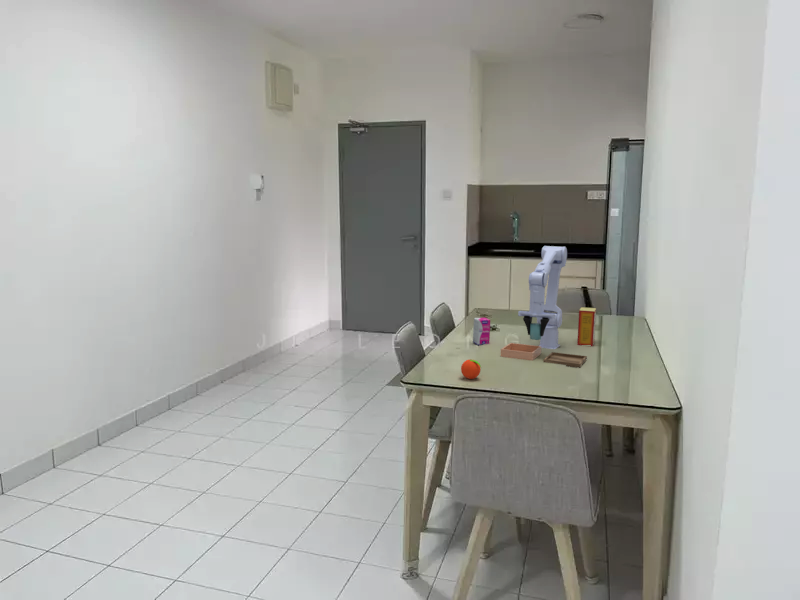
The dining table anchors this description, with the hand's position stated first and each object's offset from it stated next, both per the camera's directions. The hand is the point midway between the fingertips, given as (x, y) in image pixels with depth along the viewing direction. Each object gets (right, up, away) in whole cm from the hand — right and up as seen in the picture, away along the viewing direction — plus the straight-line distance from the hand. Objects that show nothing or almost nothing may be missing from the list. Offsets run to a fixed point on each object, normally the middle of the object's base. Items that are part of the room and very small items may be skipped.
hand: (535, 335), depth 246 cm
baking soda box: (+29, -6, +28) cm, 40 cm away
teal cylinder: (0, -1, 0) cm, 2 cm away
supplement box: (-19, -6, +25) cm, 32 cm away
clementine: (-29, -14, -29) cm, 44 cm away
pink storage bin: (-5, -9, +4) cm, 11 cm away
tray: (+11, -10, -4) cm, 15 cm away
